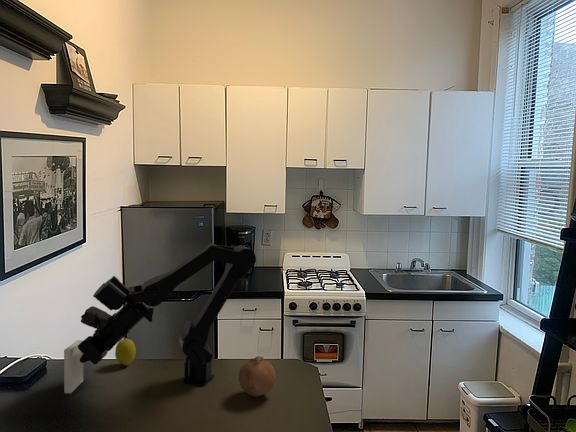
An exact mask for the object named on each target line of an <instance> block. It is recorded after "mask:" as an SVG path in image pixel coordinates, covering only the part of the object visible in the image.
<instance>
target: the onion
mask: <svg viewBox="0 0 576 432" xmlns="http://www.w3.org/2000/svg"><path fill="white" fill-rule="evenodd" d="M276 380H277V377H276V372H275V368H274V367H273V365H272V364H271V363H270V362H269V361H268V360H265V358H264V357H262V356H260V355H259V356H255V357H254V358H251V359H248V360H247V361H246V362H245V363H244V364H242V366H241V367H240V369H239V372H238V383H239V386H240V388H241V389H242V390H243V392H245V393H247V394H248V395H249V396H250V397H257V398H258V397H259V398H260V396H263V395H266V394H268V393H269V392H270V391H271V390H273V389H274V387H275V384H276Z"/></svg>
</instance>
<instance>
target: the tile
mask: <svg viewBox="0 0 576 432" xmlns="http://www.w3.org/2000/svg"><path fill="white" fill-rule="evenodd" d="M82 341H84V339H83V340H82V339H81V340H80V339H79V340H78V339H77V340H75V341H74V342H72V343H71V344H70V345H69V346H68V347H66V348H65V349H64V350H63V370H64V371H63V372H64V373H63V379H64V381H63V382H64V383H63V385H64V386H63V388H64V390H63V391H64V392H63V394H72V393H73V392H74V391H75V390H76V389H77V387H79V386H81V384H82V383H83V382H84V363H81V362H80V361H79V360H80V358H81V357H82V355H83V353H82V352H81V351H80V350H79V349H78V345H79V344H80V343H81V342H82Z"/></svg>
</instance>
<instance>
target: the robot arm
mask: <svg viewBox="0 0 576 432" xmlns="http://www.w3.org/2000/svg"><path fill="white" fill-rule="evenodd" d="M215 261H218V262H222V263H226V264H225V268H224V272H223V274H222V275H221V278H220V279H219V281H218V282H217V284H216V286H214V287H215V288H214V289H213V290H212V292H211V294H209V295H210V296H209V297H208V299H207V301H206V302H205V303H204V305H203V307H202V308H201V311H200V312H199V313H198V315H197V317H196V318H195V319H193V320H192V321H190V320H188V319H187V320H186V321H185V324H184V326H183V328H182V329H181V330H179V338H178V341H179V345H180V347H181V350H182V352H183V354H184V355H185V356H186V357H185V362H184V366H183V370H184V371H183V373H184V375H183V376H184V378H183V379H182V380H181V382H182V383H184V384H190V385H195V386H199V387H204V386H205V385H206V384H208V383H209V382H210V381H212V380H213V379H214V378H215V375H214V374H212V372H213V371H212V368H213V367H212V366H213V365H212V363H213V361H212V360H213V353H212V352H211V350H210V348H209V345H208V344H207V342H208V339H209V335H210V331H211V327H212V325H213V324H214V322H215V321H216V319H217V317H218V315H220V312H221V310H222V309H223V307H224V305H225V304H226V303H227V300H228V298H229V297H230V295H231V294H232V292H233V290H234V288H235V287H236V285H237V283H238V282H239V281H240V280H242V279H243V278H244V277H245V276H246V275H247V274H248V273H249V272H250V271H251V269H252V268H253V267H254V266H255V264H256V262H257V257H256V254H255V252H254V251H253V250H252V249H250V248H248V247H246V246H244V245H240V244H239V245H236V246H234V247H233V246H228V245H227V246H226V245H220V244H218V245H217V244H215V243H209V244H207V245H205V246H204V248H202V249H201V250H199V251H198V252H196V253H195V254H193V255H192V256H190V257H189V258H187V259H186V260H184V261H183V262H181V263H180V264H179V265H177V266H175V267H174V268H172V269H171V270H169V271H168V272H165V273H162V274H159V275H156V276H154V277H151V278H149V279H148V280H147V279H146V280H145V281H144V282H143V283H142V284H139V285H134V286H129V287H127V286H126V285H124V283H122V282H121V281H120V280H119V278H118V277H116V276H115V275H112V277H111V278H109V279H108V280H107V281H106V282H103V283H102V284H101V285H100V286H99V287H98V289H97V290H95V292H94V294H93V295H92V296H93V298H95V300H97V301H98V302H100V304H102V305H103V306H105V307H106V308H107V309H108V311H109V310H110V311H117V312H114V313H113V314H112V315H111V314H110V313H108V312H106V311H104V310H102V309H100V308H98V307H96V306H92V305H91V306H90V307H88V308H87V309H85V312H83V313H84V314H82V315H81V316H80V318H81V319H80V322H81V324H83V325H86V326H88V327H90V328H93V329H95V330H94V331H93V334H92V335H88V336H87V337H86V338H84V339H83V341H82V342H81V343H80V344H79V345H78V349H79V350H80V351H81V352H82V353H83V355H82V357H81V358H80V360H79V361H80V362H81V363H83V364H84V363H87V362H89V361H90V362H91V363H92V365H97V364H98V363H100V362H101V361H102V360H103V358H105V357H106V356H107V355H108V352H110V351H111V350H112V349H114V347H116V346H117V344H118V343H119V342H120V341H121V340H123V339H124V338H126V336H127V335H128V334H129V333H130V331H131V330H133V329H134V328H135V327H136V326H138V324H139V323H140V322H142V321H143V319H145V320H147V321H148V322H149V323H153V320H154V312H155V307H157V306H160V305H161V304H162V303H163V302H164V301H165V300H166V299H167V298H168V297H169V296H171V294H172V293H173V292H174V290H175V289H176V288H177V287H179V285H181V284H183V283H184V282H185V281H187V280H188V279H190V278H191V277H192V276H193V275H196V274H197V273H199V272H200V271H201V270H202V269H204V268H206V267H208V266H209V265H210V264H211V263H213V262H215Z"/></svg>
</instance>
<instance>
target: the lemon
mask: <svg viewBox="0 0 576 432" xmlns="http://www.w3.org/2000/svg"><path fill="white" fill-rule="evenodd" d="M136 352H137V351H136V346H135V343H134V342H133V340H132V339H129V338H127V337H124V338H123V339H122V340H121V341H120V342H118V343H117V344H116V345H115V352H114V353H115V355H114V356H115V359H116V361H117V362H118V363H119V364H122V365H124V366H127V365H128V364H130V363H131V362H133V361H134V359H135V358H136Z"/></svg>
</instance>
